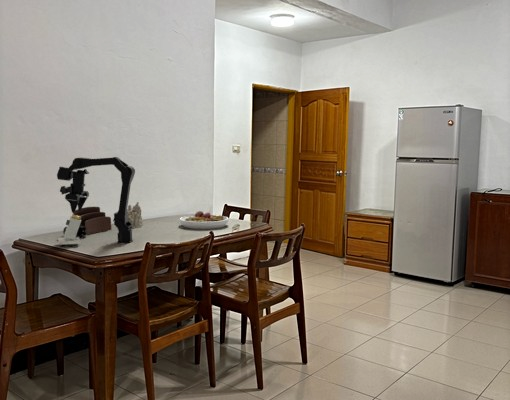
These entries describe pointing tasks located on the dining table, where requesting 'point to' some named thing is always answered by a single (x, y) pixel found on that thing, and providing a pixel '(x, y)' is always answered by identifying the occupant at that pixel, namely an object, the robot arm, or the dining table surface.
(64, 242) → the gray rectangular block
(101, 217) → the letter holder
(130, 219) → the ceramic cottage
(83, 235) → the end cap
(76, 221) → the brushed metal block
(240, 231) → the dining table surface
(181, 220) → the bowl
